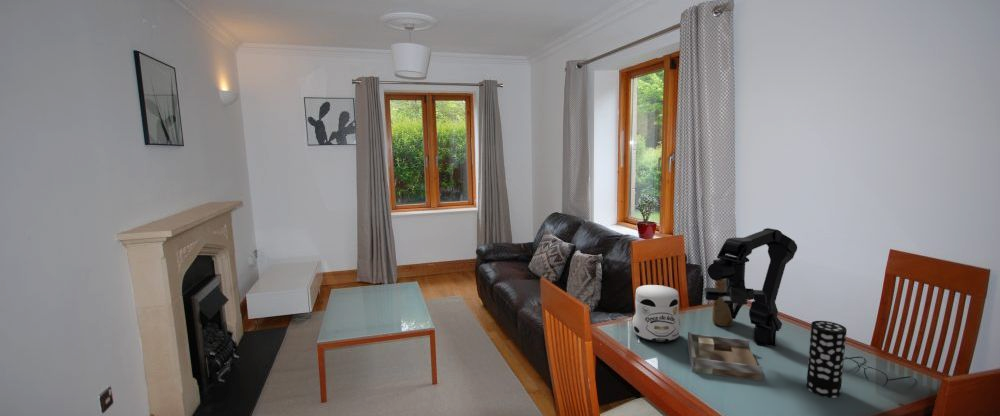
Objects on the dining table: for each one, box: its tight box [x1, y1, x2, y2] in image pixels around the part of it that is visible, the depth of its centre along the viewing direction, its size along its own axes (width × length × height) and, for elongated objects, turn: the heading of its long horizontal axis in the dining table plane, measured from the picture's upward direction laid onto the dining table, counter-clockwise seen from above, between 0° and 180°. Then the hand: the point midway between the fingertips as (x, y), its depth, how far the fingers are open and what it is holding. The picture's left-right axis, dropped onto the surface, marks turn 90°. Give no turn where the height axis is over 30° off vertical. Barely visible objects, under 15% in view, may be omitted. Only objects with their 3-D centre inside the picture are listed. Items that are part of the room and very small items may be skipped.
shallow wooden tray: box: [687, 331, 763, 381], centre depth 153 cm, size 20×20×5 cm
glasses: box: [844, 356, 911, 387], centre depth 144 cm, size 14×15×5 cm
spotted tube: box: [805, 320, 847, 399], centre depth 133 cm, size 8×8×20 cm
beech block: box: [698, 337, 714, 357], centre depth 155 cm, size 4×4×4 cm
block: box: [711, 279, 734, 327], centre depth 184 cm, size 11×8×20 cm
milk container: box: [632, 284, 681, 343], centre depth 173 cm, size 17×17×18 cm
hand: (733, 318), depth 157 cm, fingers closed
